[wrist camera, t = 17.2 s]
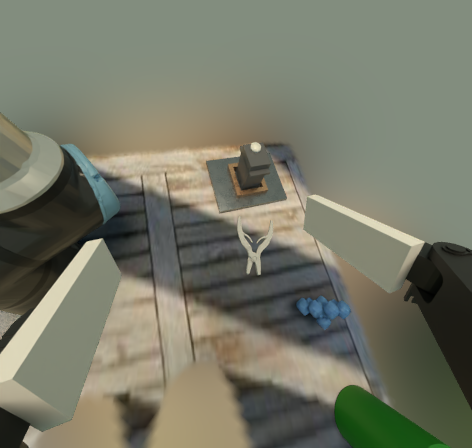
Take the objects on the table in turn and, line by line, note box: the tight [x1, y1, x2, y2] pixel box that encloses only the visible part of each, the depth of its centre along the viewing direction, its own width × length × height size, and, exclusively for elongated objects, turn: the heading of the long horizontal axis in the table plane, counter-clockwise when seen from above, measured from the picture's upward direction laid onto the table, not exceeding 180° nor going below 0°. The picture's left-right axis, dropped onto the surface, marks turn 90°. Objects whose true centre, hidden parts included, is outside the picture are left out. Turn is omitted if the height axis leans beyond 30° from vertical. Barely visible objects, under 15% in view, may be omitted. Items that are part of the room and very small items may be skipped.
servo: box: [236, 142, 271, 190], centre depth 46 cm, size 5×8×12 cm, turn 17°
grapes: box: [296, 296, 351, 330], centre depth 39 cm, size 12×7×12 cm, turn 88°
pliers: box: [237, 216, 273, 275], centre depth 47 cm, size 10×2×15 cm
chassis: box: [206, 153, 287, 213], centre depth 52 cm, size 20×16×2 cm
